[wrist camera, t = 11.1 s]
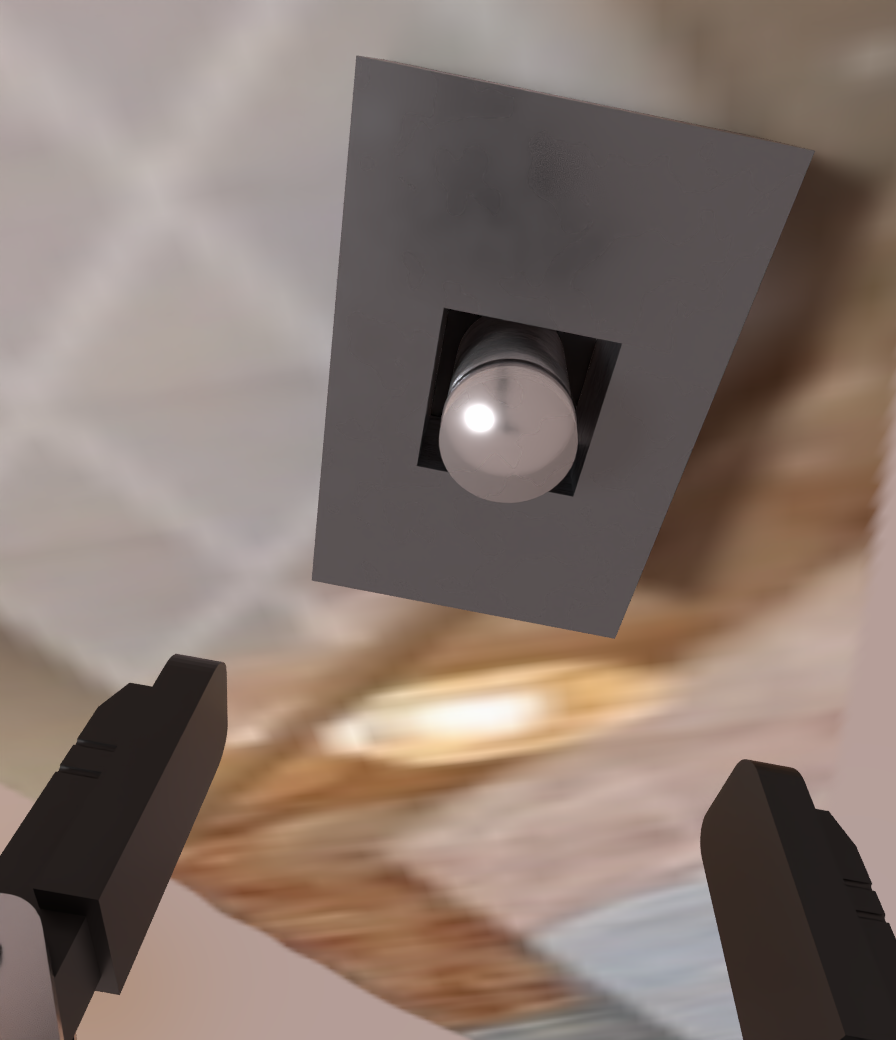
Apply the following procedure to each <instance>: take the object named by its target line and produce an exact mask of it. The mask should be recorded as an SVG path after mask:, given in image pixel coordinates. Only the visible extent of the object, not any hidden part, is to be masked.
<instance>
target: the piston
mask: <svg viewBox="0 0 896 1040" xmlns="http://www.w3.org/2000/svg"><path fill="white" fill-rule="evenodd" d="M577 445H578V435H577V418H576V412H575V407H574V403H573V400H572V397H571V391H570V385H569V379H568V372H567V366H566V360H565V354H564V349H563V345H562V342H561V339H560V337H559V335H558V334H557V332H556V331H555V330H552V329H547V328H543V327H538V326H533V325H528V324H523V323H518V322H513V321H508V320H503V319H498V318H493V317H488V316H482V317H481V318H479V319H478V320H477V321H475V322H474V323H473V324H472V325H471V326H470V327H469V328H468V330H467V331H466V332H465V334H464V336H463V337H462V339H461V342H460V344H459V348H458V351H457V356H456V360H455V365H454V369H453V374H452V378H451V383H450V387H449V392H448V396H447V399H446V401H445V404H444V408H443V412H442V417H441V428H440V434H439V448H440V453H441V457H442V460H443V463H444V465H445V467H446V469H447V471H448V472H449V474H450V475H451V476H452V478H453V479H454V480H455V481H456V482H457V483H458V484H459V485H460V486H461V487H462V488H464V489H465V490H467V491H468V492H470V493H472V494H474V495H475V496H477V497H480V498H483V499H485V500H489V501H493V502H500V503H516V502H523V501H527V500H531V499H534V498H536V497H539V496H541V495H543V494H545V493H546V492H548V491H550V490H551V489H552V488H554V487H555V486H556V485H557V484H558V483H559V482H560V481H561V480H562V479H563V478H564V477H565V476H566V474H567V473H568V471H569V470H570V468H571V466H572V464H573V462H574V459H575V456H576V452H577Z"/></svg>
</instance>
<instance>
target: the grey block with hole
mask: <svg viewBox="0 0 896 1040" xmlns="http://www.w3.org/2000/svg"><path fill="white" fill-rule="evenodd" d="M814 152H815V151H814V150H809V149H805V148H801V147H797V146H793V145H789V144H785V143H781V142H777V141H772V140H768V139H764V138H759V137H754V136H750V135H745V134H740V133H735V132H730V131H726V130H721V129H716V128H711V127H706V126H701V125H697V124H692V123H687V122H682V121H677V120H673V119H668V118H663V117H658V116H653V115H649V114H644V113H639V112H634V111H629V110H624V109H620V108H615V107H610V106H605V105H600V104H596V103H591V102H586V101H581V100H576V99H572V98H567V97H562V96H557V95H552V94H547V93H543V92H538V91H533V90H528V89H523V88H519V87H514V86H509V85H504V84H499V83H495V82H490V81H485V80H480V79H475V78H470V77H466V76H461V75H456V74H451V73H446V72H442V71H437V70H432V69H427V68H422V67H418V66H413V65H408V64H403V63H398V62H393V61H389V60H384V59H377V58H370V57H363V56H356V67H355V79H354V91H353V103H352V114H351V126H350V138H349V150H348V161H347V173H346V185H345V196H344V208H343V220H342V232H341V243H340V255H339V267H338V279H337V290H336V302H335V314H334V326H333V337H332V349H331V361H330V373H329V384H328V396H327V408H326V419H325V431H324V443H323V455H322V466H321V478H320V490H319V502H318V513H317V525H316V537H315V549H314V560H313V572H312V581H318V582H323V583H328V584H333V585H338V586H344V587H349V588H354V589H359V590H364V591H370V592H375V593H380V594H385V595H390V596H396V597H401V598H406V599H411V600H416V601H422V602H427V603H432V604H437V605H442V606H448V607H453V608H458V609H463V610H468V611H474V612H479V613H484V614H489V615H494V616H500V617H505V618H510V619H515V620H520V621H526V622H531V623H536V624H541V625H546V626H552V627H557V628H562V629H567V630H573V631H578V632H583V633H588V634H593V635H599V636H604V637H609V638H614V639H615V637H616V635H617V632H618V630H619V627H620V625H621V623H622V620H623V618H624V615H625V613H626V610H627V608H628V605H629V603H630V601H631V598H632V596H633V593H634V591H635V588H636V586H637V584H638V581H639V579H640V576H641V574H642V571H643V569H644V566H645V564H646V562H647V559H648V557H649V554H650V552H651V549H652V547H653V545H654V542H655V540H656V537H657V535H658V532H659V530H660V527H661V525H662V523H663V520H664V518H665V515H666V513H667V510H668V508H669V506H670V503H671V501H672V498H673V496H674V493H675V491H676V488H677V486H678V484H679V481H680V479H681V476H682V474H683V471H684V469H685V466H686V464H687V462H688V459H689V457H690V454H691V452H692V449H693V447H694V445H695V442H696V440H697V437H698V435H699V432H700V430H701V427H702V425H703V423H704V420H705V418H706V415H707V413H708V410H709V408H710V406H711V403H712V401H713V398H714V396H715V393H716V391H717V388H718V386H719V384H720V381H721V379H722V376H723V374H724V371H725V369H726V367H727V364H728V362H729V359H730V357H731V354H732V352H733V349H734V347H735V345H736V342H737V340H738V337H739V335H740V332H741V330H742V328H743V325H744V323H745V320H746V318H747V315H748V313H749V310H750V308H751V306H752V303H753V301H754V298H755V296H756V293H757V291H758V288H759V286H760V284H761V281H762V279H763V276H764V274H765V271H766V269H767V267H768V264H769V262H770V259H771V257H772V254H773V252H774V249H775V247H776V245H777V242H778V240H779V237H780V235H781V232H782V230H783V228H784V225H785V223H786V220H787V218H788V215H789V213H790V210H791V208H792V206H793V203H794V201H795V198H796V196H797V193H798V191H799V189H800V186H801V184H802V181H803V179H804V176H805V174H806V171H807V169H808V167H809V164H810V162H811V159H812V157H813V154H814ZM449 309H453V310H458V311H463V312H468V313H473V314H478V315H483V316H488V317H493V318H498V319H503V320H508V321H513V322H518V323H523V324H528V325H533V326H538V327H543V328H547V329H552V330H557V331H562V332H567V333H572V334H577V335H582V336H587V337H592V338H597V341H596V344H595V347H594V351H593V354H592V358H591V361H590V364H589V368H588V371H587V374H586V378H585V381H584V384H583V388H582V391H581V395H580V398H579V401H578V405H577V408H576V411H575V412H576V418H577V435H578V445H577V452H576V456H575V459H574V462H573V464H572V466H571V468H570V470H569V471H568V473H567V474H566V476H565V477H564V478H563V479H562V480H561V481H560V482H559V483H558V484H557V485H556V486H555V487H554V488H552V489H551V490H550V491H548V492H546V493H545V494H543V495H541V496H539V497H536V498H534V499H531V500H527V501H523V502H516V503H500V502H493V501H489V500H485V499H483V498H480V497H477V496H475V495H474V494H472V493H470V492H468V491H467V490H465V489H464V488H462V487H461V486H460V485H459V484H458V483H457V482H456V481H455V480H454V479H453V478H452V476H451V475H450V474H449V472H448V471H447V469H446V467H445V465H444V463H443V460H442V457H441V453H440V448H439V434H440V428H441V417H437V416H432V415H430V414H431V408H432V402H433V397H434V391H435V385H436V379H437V374H438V368H439V362H440V357H441V351H442V345H443V339H444V334H445V328H446V322H447V316H448V311H449Z"/></svg>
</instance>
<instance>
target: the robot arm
mask: <svg viewBox="0 0 896 1040" xmlns="http://www.w3.org/2000/svg"><path fill="white" fill-rule="evenodd" d="M227 727H228V720H227V671H226V665H225V663H224V662H219V661H213V660H208V659H202V658H197V657H191V656H186V655H180V654H175V655H173V656H172V657H171V658H170V659H169V660H168V662H167V663H166V665H165V666H164V668H163V670H162V671H161V673H160V675H159V676H158V678H157V680H156V681H155V683H154V685H153V687H151V686H145V685H140V684H134V683H129V684H127V685H126V686H125V687H124V688H122V689H121V690H120V691H118V692H117V693H116V694H114V695H113V696H112V697H111V698H109V699H108V700H107V701H105V702H104V703H103V704H102V705H100V706H99V707H98V708H97V710H96V711H95V713H94V714H93V716H92V717H91V719H90V720H89V722H88V723H87V725H86V726H85V728H84V729H83V731H82V732H81V734H80V735H79V737H78V738H77V743H76V745H73V746H72V748H71V749H70V751H69V752H68V754H67V755H66V757H65V758H64V760H63V761H62V763H61V764H60V769H59V771H58V772H55V773H54V775H53V776H52V778H51V779H50V781H49V782H48V784H47V785H46V787H45V789H44V790H43V792H42V793H41V795H40V796H39V798H38V799H37V801H36V802H35V804H34V805H33V807H32V808H31V810H30V812H29V813H28V814H27V816H26V817H25V819H24V820H23V822H22V823H21V825H20V827H19V828H18V830H17V831H16V833H15V834H14V836H13V837H12V839H11V840H10V842H9V843H8V845H7V846H6V848H5V849H4V851H3V852H2V854H1V855H0V1040H77V1037H76V1030H77V1028H78V1026H79V1024H80V1022H81V1020H82V1017H83V1015H84V1013H85V1011H86V1009H87V1007H88V1004H89V1002H90V1000H91V998H92V996H93V994H94V991H100V992H106V993H111V994H117V995H120V993H121V991H122V988H123V986H124V984H125V981H126V979H127V976H128V975H129V972H130V970H131V968H132V965H133V963H134V961H135V958H136V956H137V954H138V951H139V949H140V946H141V944H142V942H143V940H144V937H145V935H146V933H147V930H148V928H149V926H150V924H151V921H152V919H153V917H154V914H155V912H156V910H157V907H158V905H159V903H160V900H161V898H162V896H163V894H164V891H165V889H166V887H167V884H168V882H169V880H170V877H171V875H172V873H173V870H174V868H175V866H176V863H177V861H178V859H179V856H180V854H181V852H182V849H183V847H184V845H185V843H186V840H187V838H188V836H189V833H190V831H191V829H192V826H193V824H194V822H195V819H196V817H197V815H198V812H199V810H200V808H201V805H202V803H203V801H204V799H205V796H206V794H207V792H208V789H209V787H210V785H211V782H212V780H213V778H214V775H215V773H216V771H217V768H218V766H219V763H220V760H221V757H222V754H223V750H224V746H225V742H226V736H227ZM700 847H701V855H702V861H703V865H704V869H705V874H706V878H707V882H708V887H709V891H710V896H711V900H712V904H713V909H714V913H715V918H716V922H717V926H718V931H719V935H720V940H721V944H722V948H723V953H724V957H725V962H726V966H727V970H728V975H729V979H730V984H731V988H732V992H733V997H734V1001H735V1005H736V1010H737V1014H738V1019H739V1023H740V1027H741V1032H742V1036H743V1040H896V938H895V936H894V934H893V931H892V929H891V927H890V924H889V923H886V922H885V913H884V910H883V908H882V906H881V903H880V901H879V899H878V896H877V894H876V892H875V891H872V889H871V885H872V883H871V880H870V878H869V875H868V873H867V871H866V868H865V866H864V864H863V861H862V859H861V857H860V854H859V852H858V850H857V847H856V845H855V844H854V843H853V842H852V841H851V839H850V838H849V837H848V836H847V834H846V833H845V831H844V830H843V829H842V828H841V826H840V825H839V824H838V823H837V821H836V820H835V819H834V817H833V816H832V815H831V814H830V812H829V811H824V810H819V809H815V807H814V804H813V802H812V799H811V797H810V794H809V791H808V789H807V786H806V784H805V782H804V779H803V777H802V776H801V774H800V773H799V772H798V771H797V770H796V769H794V768H791V767H785V766H780V765H774V764H769V763H763V762H758V761H752V760H747V759H744V760H741V761H740V762H739V763H738V764H737V765H736V766H735V768H734V770H733V771H732V773H731V774H730V776H729V778H728V779H727V781H726V782H725V784H724V786H723V787H722V789H721V790H720V792H719V794H718V795H717V797H716V798H715V800H714V802H713V803H712V805H711V806H710V808H709V810H708V811H707V813H706V815H705V817H704V820H703V823H702V828H701V836H700Z"/></svg>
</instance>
